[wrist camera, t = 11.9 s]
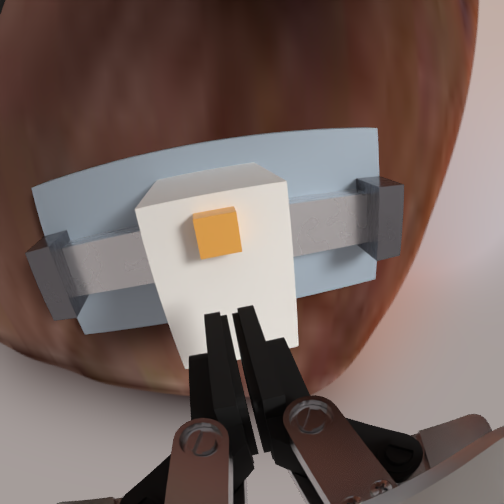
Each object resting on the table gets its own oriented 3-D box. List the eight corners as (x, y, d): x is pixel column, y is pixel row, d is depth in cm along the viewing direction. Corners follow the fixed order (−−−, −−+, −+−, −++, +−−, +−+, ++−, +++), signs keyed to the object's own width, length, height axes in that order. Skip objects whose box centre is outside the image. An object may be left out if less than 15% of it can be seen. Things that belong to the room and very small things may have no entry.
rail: (379, 176, 20) (403, 184, 17) (378, 239, 22) (399, 255, 19) (44, 235, 17) (25, 252, 14) (67, 297, 19) (54, 320, 16)
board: (366, 127, 19) (377, 128, 18) (366, 271, 24) (375, 279, 23) (41, 183, 17) (31, 188, 15) (89, 323, 22) (84, 334, 20)
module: (253, 162, 18) (293, 184, 11) (268, 282, 21) (303, 356, 14) (157, 179, 17) (130, 214, 10) (185, 298, 21) (185, 379, 14)
